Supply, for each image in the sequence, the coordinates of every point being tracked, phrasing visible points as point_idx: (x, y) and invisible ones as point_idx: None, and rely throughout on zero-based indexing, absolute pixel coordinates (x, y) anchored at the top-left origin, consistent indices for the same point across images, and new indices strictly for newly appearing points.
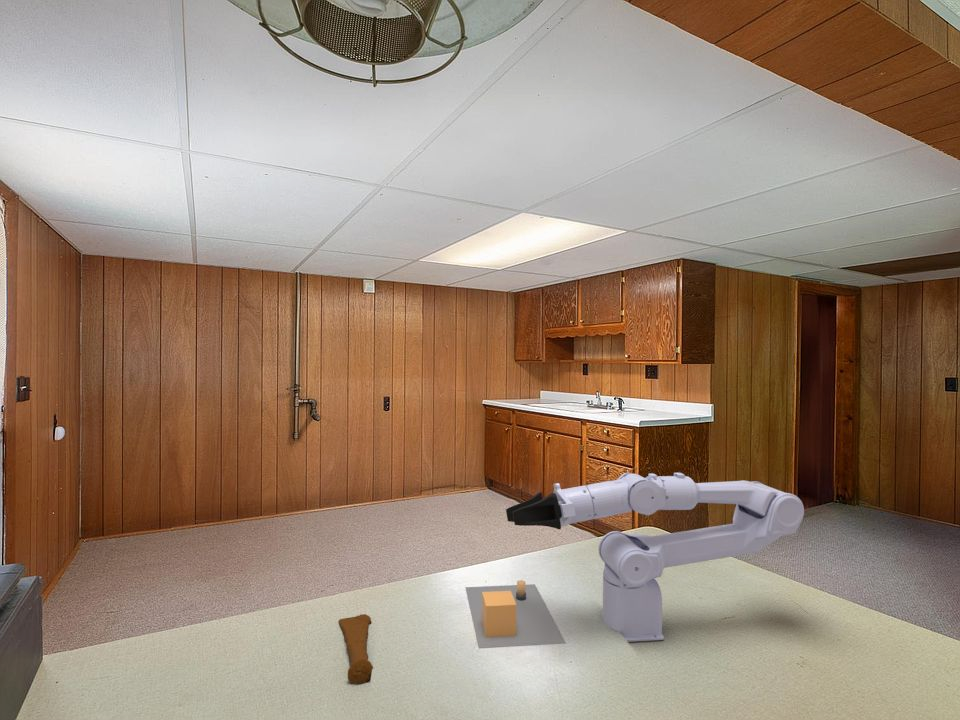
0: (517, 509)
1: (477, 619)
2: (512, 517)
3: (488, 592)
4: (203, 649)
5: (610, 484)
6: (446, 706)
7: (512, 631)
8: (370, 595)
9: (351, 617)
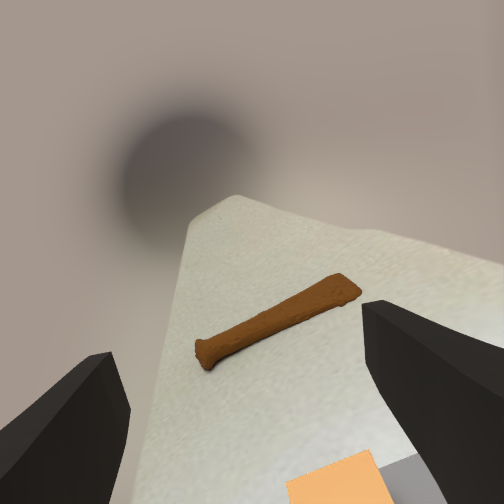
0: (91, 364)
1: (390, 479)
2: (376, 366)
3: (371, 469)
4: (257, 229)
5: None
6: (142, 496)
7: None
8: (429, 262)
9: (345, 280)
